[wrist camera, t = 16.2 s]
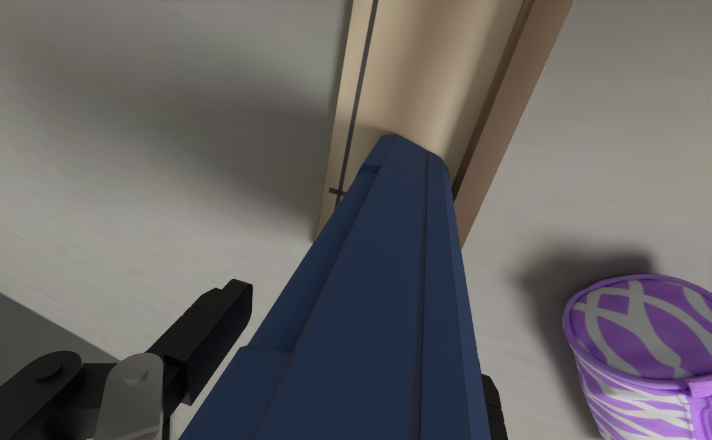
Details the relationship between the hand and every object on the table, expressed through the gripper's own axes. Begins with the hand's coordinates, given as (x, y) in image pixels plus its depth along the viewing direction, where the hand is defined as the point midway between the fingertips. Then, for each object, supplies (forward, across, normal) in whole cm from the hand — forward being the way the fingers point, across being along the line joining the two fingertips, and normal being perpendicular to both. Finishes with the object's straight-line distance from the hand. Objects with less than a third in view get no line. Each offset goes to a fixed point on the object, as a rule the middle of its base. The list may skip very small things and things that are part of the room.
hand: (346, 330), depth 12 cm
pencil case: (+14, -24, +9) cm, 29 cm away
